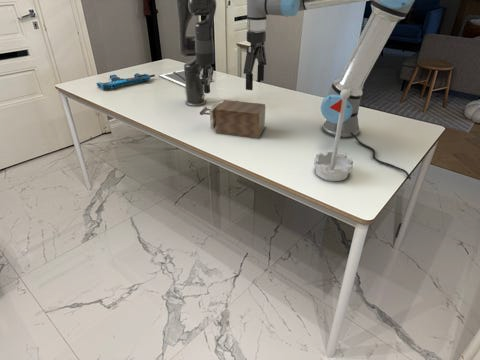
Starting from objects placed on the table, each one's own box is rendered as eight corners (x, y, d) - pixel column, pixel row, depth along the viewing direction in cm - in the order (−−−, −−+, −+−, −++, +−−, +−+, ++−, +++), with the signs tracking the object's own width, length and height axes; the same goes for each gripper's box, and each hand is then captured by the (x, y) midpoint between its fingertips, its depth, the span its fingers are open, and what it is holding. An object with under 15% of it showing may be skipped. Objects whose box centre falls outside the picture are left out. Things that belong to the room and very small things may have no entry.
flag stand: (336, 160, 127) (350, 81, 111) (358, 178, 117) (377, 93, 101) (306, 167, 123) (316, 85, 107) (326, 186, 113) (340, 99, 97)
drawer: (198, 128, 150) (196, 108, 145) (206, 119, 159) (205, 100, 154) (248, 134, 145) (249, 114, 140) (255, 124, 153) (255, 105, 148)
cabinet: (216, 133, 148) (215, 109, 142) (225, 122, 157) (224, 99, 151) (258, 138, 144) (259, 113, 138) (264, 127, 153) (265, 103, 147)
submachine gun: (140, 68, 226) (159, 74, 209) (142, 73, 228) (160, 80, 211) (89, 77, 207) (104, 85, 190) (90, 84, 209) (106, 92, 192)
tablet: (159, 75, 221) (159, 75, 220) (185, 70, 232) (185, 69, 231) (186, 87, 200) (186, 86, 200) (213, 80, 211) (213, 80, 211)
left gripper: (202, 46, 142) (204, 87, 152) (189, 53, 132) (193, 97, 141) (219, 47, 141) (220, 88, 150) (207, 55, 130) (209, 98, 139)
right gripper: (258, 25, 142) (256, 76, 154) (234, 35, 123) (235, 92, 135) (275, 26, 140) (272, 77, 152) (254, 37, 121) (252, 95, 132)
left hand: (207, 92), depth 146 cm, fingers closed
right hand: (255, 85), depth 143 cm, fingers open, 13 cm apart
